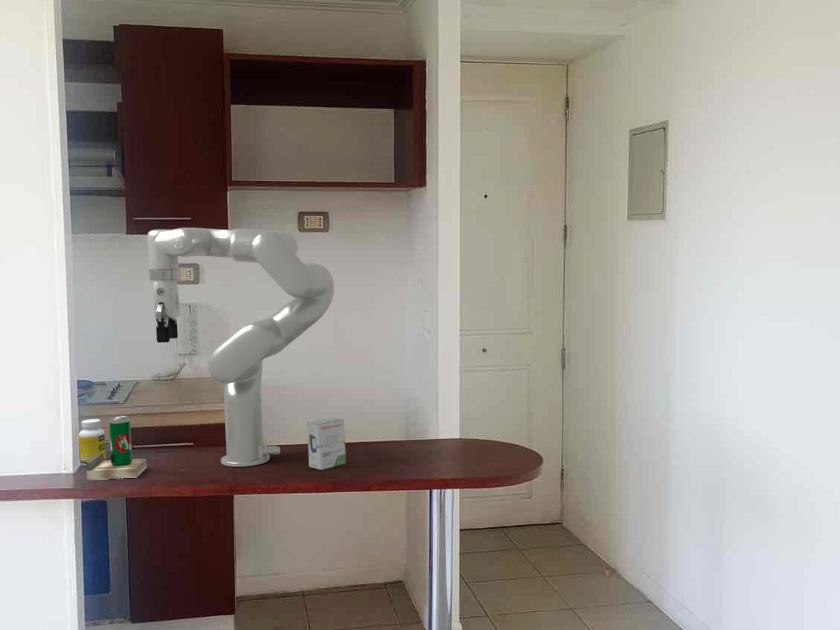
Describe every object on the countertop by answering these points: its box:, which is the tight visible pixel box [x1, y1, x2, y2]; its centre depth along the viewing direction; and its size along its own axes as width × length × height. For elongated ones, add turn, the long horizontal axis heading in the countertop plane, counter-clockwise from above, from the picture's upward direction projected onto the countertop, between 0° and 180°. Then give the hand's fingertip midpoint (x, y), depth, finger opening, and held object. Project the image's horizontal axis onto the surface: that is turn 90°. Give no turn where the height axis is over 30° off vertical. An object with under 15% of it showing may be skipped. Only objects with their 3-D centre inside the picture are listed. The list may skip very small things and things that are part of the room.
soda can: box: [108, 415, 133, 466], centre depth 222 cm, size 5×5×12 cm
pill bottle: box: [78, 418, 107, 466], centre depth 234 cm, size 6×6×12 cm
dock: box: [86, 453, 148, 482], centre depth 222 cm, size 12×10×4 cm
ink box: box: [306, 417, 347, 471], centre depth 225 cm, size 9×5×12 cm, turn 134°
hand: (167, 340), depth 234 cm, fingers open, 9 cm apart
